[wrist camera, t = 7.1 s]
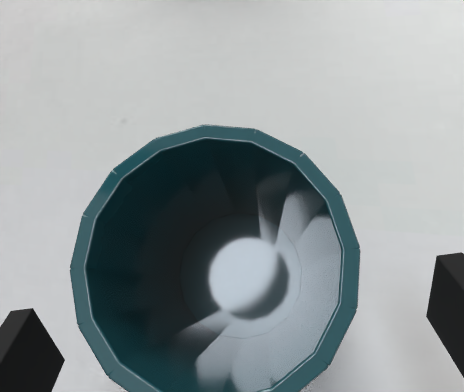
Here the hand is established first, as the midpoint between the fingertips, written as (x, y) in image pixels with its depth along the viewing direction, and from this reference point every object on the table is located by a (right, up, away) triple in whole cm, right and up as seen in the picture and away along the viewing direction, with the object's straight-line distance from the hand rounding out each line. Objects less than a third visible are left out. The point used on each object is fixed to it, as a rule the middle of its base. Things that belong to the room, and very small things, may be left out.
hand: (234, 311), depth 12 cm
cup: (0, 0, +8) cm, 8 cm away
